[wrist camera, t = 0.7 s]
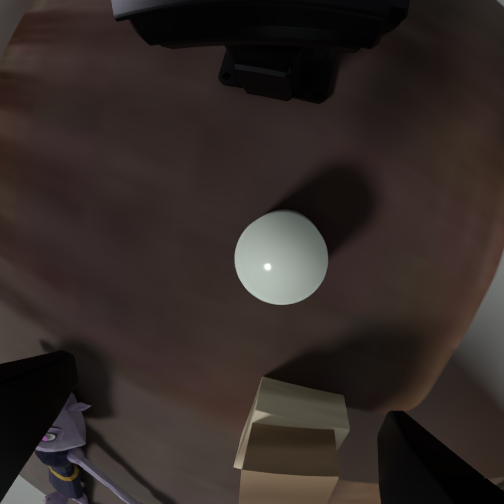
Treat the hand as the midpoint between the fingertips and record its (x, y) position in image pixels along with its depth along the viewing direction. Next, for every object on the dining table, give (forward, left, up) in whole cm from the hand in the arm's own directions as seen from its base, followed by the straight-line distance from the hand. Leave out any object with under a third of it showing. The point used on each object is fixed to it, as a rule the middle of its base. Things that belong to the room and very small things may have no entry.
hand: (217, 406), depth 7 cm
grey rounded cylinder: (-2, +1, -12) cm, 12 cm away
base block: (+10, +5, -12) cm, 16 cm away
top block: (+10, +5, -8) cm, 14 cm away
